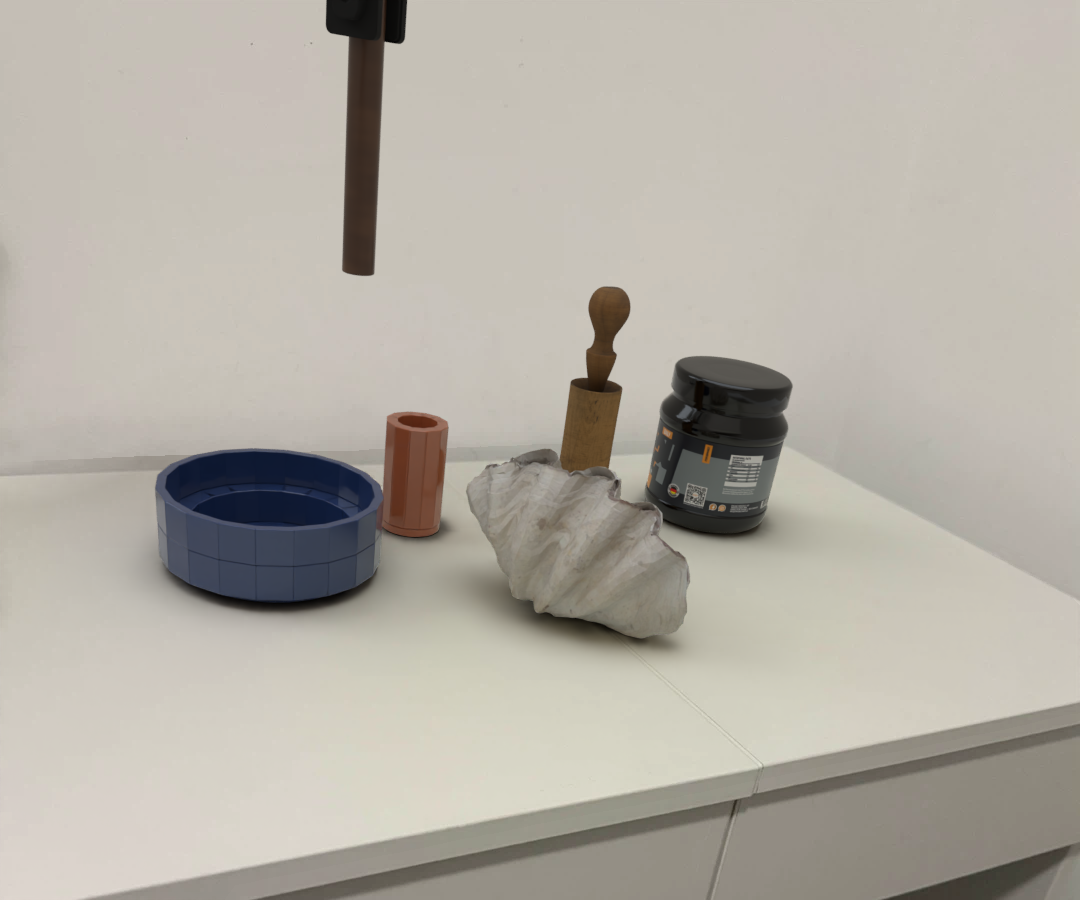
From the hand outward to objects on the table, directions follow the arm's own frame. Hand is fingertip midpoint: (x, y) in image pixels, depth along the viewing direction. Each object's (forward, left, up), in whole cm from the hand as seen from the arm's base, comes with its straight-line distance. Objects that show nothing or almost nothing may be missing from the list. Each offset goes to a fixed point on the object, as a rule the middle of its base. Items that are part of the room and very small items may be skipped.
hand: (365, 35), depth 60 cm
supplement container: (+20, +25, -31) cm, 45 cm away
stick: (0, 0, -13) cm, 13 cm away
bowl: (-2, -6, -31) cm, 31 cm away
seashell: (+17, 0, -31) cm, 35 cm away
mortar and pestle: (+12, +15, -31) cm, 36 cm away
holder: (+2, +6, -31) cm, 31 cm away
